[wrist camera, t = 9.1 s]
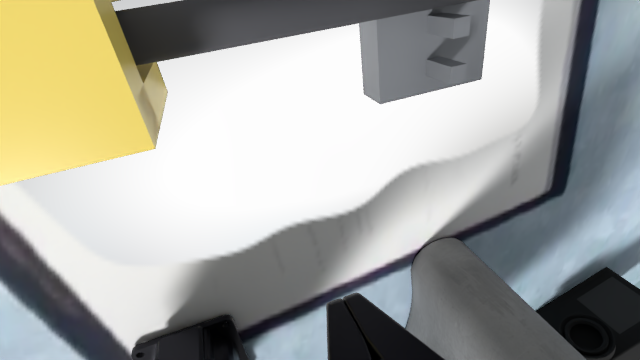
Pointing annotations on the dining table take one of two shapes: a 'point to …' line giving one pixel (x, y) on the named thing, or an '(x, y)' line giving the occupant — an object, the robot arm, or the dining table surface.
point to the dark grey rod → (245, 22)
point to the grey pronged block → (423, 50)
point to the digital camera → (599, 317)
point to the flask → (475, 310)
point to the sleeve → (71, 89)
